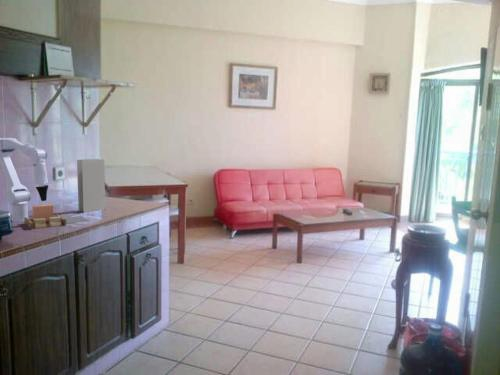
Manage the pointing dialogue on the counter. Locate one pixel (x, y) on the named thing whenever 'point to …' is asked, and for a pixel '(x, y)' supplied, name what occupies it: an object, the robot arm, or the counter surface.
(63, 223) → the rack
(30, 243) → the counter surface
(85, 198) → the grey tall block
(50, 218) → the offcut
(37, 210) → the panel
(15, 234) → the counter surface
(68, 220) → the mat
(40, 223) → the offcut
